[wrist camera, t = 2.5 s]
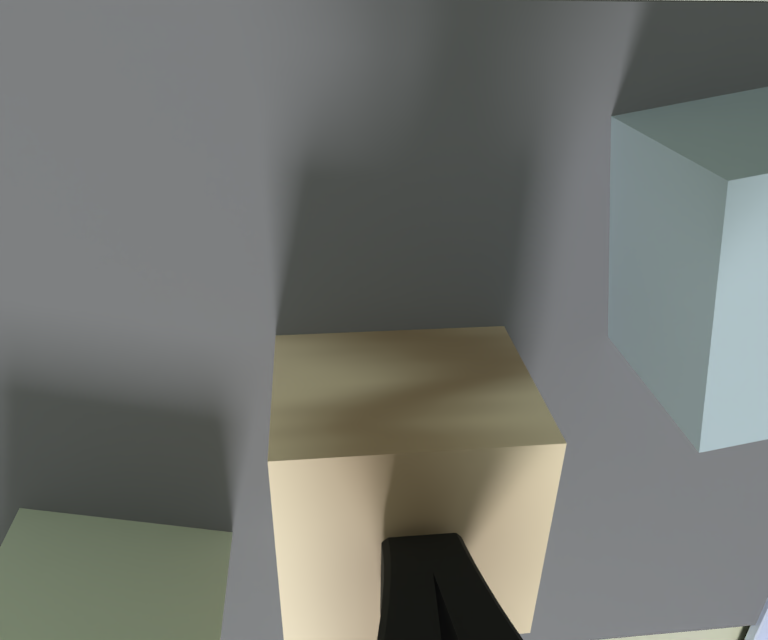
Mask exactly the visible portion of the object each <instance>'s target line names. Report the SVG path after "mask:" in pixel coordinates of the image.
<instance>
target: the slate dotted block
mask: <svg viewBox="0 0 768 640" xmlns="http://www.w3.org/2000/svg"><path fill="white" fill-rule="evenodd" d="M608 337H609V339H610V340H611V341H612V342H613V344H614V345H615V346H616V348H617V349H618V350H619V351H620V353H621V354H622V355H623V356H624V358H625V359H626V360H627V362H628V363H629V364H630V365H631V367H632V368H633V369H634V371H635V372H636V373H637V374H638V376H639V377H640V378H641V379H642V381H643V382H644V383H645V385H646V386H647V387H648V388H649V390H650V391H651V392H652V393H653V395H654V396H655V397H656V399H657V400H658V401H659V402H660V404H661V405H662V406H663V407H664V409H665V410H666V411H667V413H668V414H669V415H670V416H671V418H672V419H673V420H674V422H675V423H676V424H677V425H678V427H679V428H680V429H681V430H682V432H683V433H684V434H685V436H686V437H687V438H688V439H689V441H690V442H691V443H692V444H693V446H694V447H695V448H696V450H697V451H698V452H699V453H701V452H706V451H711V450H716V449H721V448H726V447H731V446H736V445H741V444H746V443H751V442H756V441H761V440H766V439H768V87H763V88H758V89H752V90H747V91H742V92H737V93H731V94H726V95H721V96H715V97H710V98H705V99H700V100H694V101H689V102H684V103H679V104H673V105H668V106H663V107H657V108H652V109H647V110H642V111H636V112H631V113H626V114H621V115H615V116H611V160H610V230H609V300H608Z"/></svg>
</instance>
